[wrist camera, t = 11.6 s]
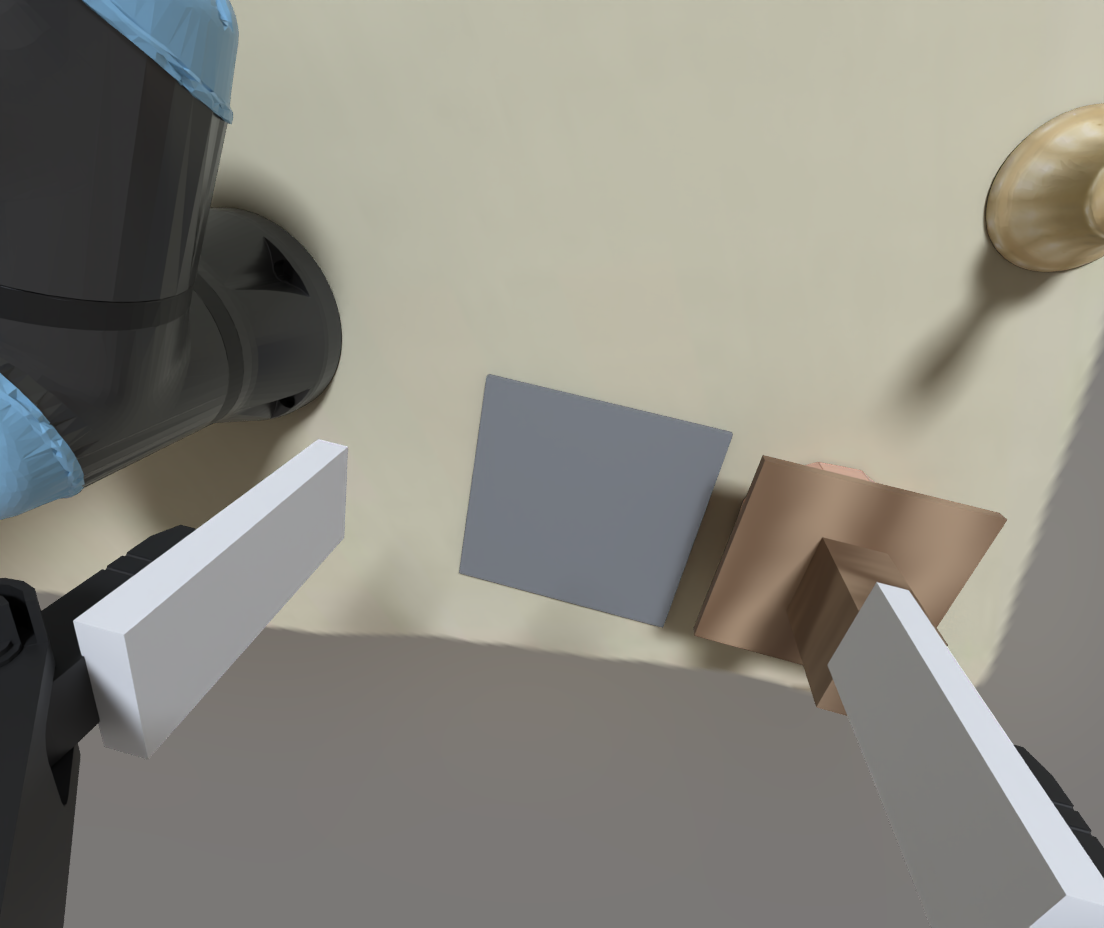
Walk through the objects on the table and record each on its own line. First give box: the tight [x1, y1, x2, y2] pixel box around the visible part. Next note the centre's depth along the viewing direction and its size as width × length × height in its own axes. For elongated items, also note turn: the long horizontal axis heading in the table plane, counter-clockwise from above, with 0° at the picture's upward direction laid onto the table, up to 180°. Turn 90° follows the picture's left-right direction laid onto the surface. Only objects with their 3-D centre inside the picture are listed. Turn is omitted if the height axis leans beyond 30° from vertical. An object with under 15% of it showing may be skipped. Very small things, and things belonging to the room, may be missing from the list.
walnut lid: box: [694, 455, 1007, 716], centre depth 32 cm, size 14×14×9 cm
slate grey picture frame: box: [459, 374, 733, 628], centre depth 44 cm, size 18×18×1 cm
